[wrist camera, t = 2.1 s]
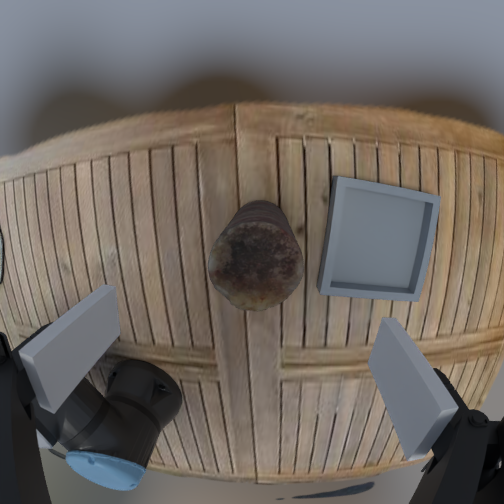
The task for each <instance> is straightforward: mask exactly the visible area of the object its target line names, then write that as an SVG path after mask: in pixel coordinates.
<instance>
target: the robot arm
mask: <svg viewBox="0 0 504 504" xmlns="http://www.w3.org/2000/svg"><path fill="white" fill-rule="evenodd" d="M120 334H121V332H120V324H119V315H118V306H117V295H116V287H115V286H110V285H104V284H103V285H102V286H100V287H99V288H98V289H96V290H95V291H94V292H92V293H91V294H90V295H88V296H87V297H86V298H84V299H83V300H82V301H80V302H79V303H78V304H76V305H75V306H74V307H72V308H71V309H70V310H69V311H67V312H66V313H65V314H63V315H62V316H61V317H60V318H58V319H57V320H56V321H55V322H52V323H49V324H47V325H44V326H42V327H41V328H40V329H38V330H37V331H36V332H35V333H33V334H32V335H31V336H30V338H27V339H26V340H25V341H23V342H22V343H21V344H20V345H19V346H17V347H16V348H15V349H14V350H13V351H11V348H10V345H9V342H8V339H7V336H6V335H5V334H4V333H2V332H0V504H52V503H51V500H50V496H49V493H48V488H47V485H46V480H45V476H44V472H43V467H42V462H41V457H40V451H39V448H50V449H51V448H52V447H53V446H54V445H55V444H56V442H57V441H58V442H59V443H60V444H61V445H63V446H64V447H65V448H66V449H67V450H68V452H67V453H66V461H67V463H68V464H69V465H70V467H71V468H72V469H73V470H75V471H76V472H77V473H78V474H80V475H82V476H83V477H85V478H86V479H88V480H90V481H92V482H94V483H97V484H99V485H102V486H105V487H107V488H111V489H115V490H131V489H134V488H135V487H137V486H138V484H139V483H140V481H141V479H142V477H143V475H144V474H145V472H146V467H147V465H148V462H149V460H150V457H151V454H152V452H153V449H154V447H155V444H156V442H157V439H158V436H159V434H160V432H161V430H162V429H163V428H164V427H165V426H166V425H167V424H168V423H170V422H171V421H172V420H173V419H174V418H175V417H176V415H177V414H178V412H179V409H180V407H181V403H182V396H181V392H180V390H179V388H178V386H177V385H176V383H175V382H174V381H173V380H172V378H171V377H170V376H168V375H167V374H166V373H165V372H163V371H162V370H161V369H159V368H157V367H155V366H153V365H151V364H149V363H146V362H143V361H138V360H125V361H122V362H120V363H118V364H117V365H116V366H115V367H114V368H113V370H112V371H111V372H110V374H109V376H108V380H107V385H106V390H105V395H104V397H103V395H102V394H101V393H100V392H99V391H98V390H97V389H96V388H95V387H94V386H93V385H92V384H91V383H90V382H89V381H88V380H87V379H86V378H85V375H86V374H87V373H88V371H89V370H90V369H91V368H92V367H93V365H94V364H95V363H96V362H97V361H98V360H99V358H100V357H101V356H102V355H103V354H104V352H105V351H106V350H107V349H108V348H109V347H110V345H111V344H112V343H113V342H114V341H115V340H116V338H117V337H118V336H119V335H120ZM368 365H369V368H370V370H371V372H372V375H373V377H374V379H375V382H376V384H377V386H378V389H379V391H380V393H381V396H382V398H383V401H384V403H385V405H386V408H387V410H388V413H389V415H390V418H391V420H392V423H393V425H394V428H395V430H396V433H397V435H398V438H399V441H400V443H401V446H402V449H403V451H404V454H405V457H406V459H407V461H411V460H416V459H421V458H424V457H425V456H426V454H427V453H428V452H429V450H430V449H432V451H433V453H434V456H433V457H432V458H431V459H430V461H429V462H428V463H427V464H426V465H425V467H424V468H423V469H422V470H421V472H424V470H425V469H426V470H425V473H424V475H423V477H422V479H421V481H420V483H419V485H418V487H417V489H416V491H415V493H414V495H413V497H412V499H411V500H410V502H409V504H504V417H503V418H502V420H501V421H489V419H488V417H487V416H486V415H485V414H484V413H482V412H480V411H478V410H474V409H472V410H469V409H468V407H467V406H466V404H465V403H464V401H463V400H462V398H461V397H460V395H459V394H458V392H457V391H456V390H454V387H453V385H452V384H450V381H449V380H448V378H447V377H446V375H445V374H444V373H442V372H441V371H440V370H438V369H437V368H432V367H431V365H430V364H429V363H428V361H427V360H426V358H425V357H424V356H423V354H422V353H421V351H420V350H419V349H418V347H417V346H416V344H415V343H414V342H413V340H412V339H411V338H410V336H409V335H408V334H407V332H406V331H405V330H404V328H403V327H402V326H401V324H400V323H399V322H398V320H397V319H396V318H383V317H382V320H381V324H380V327H379V330H378V334H377V337H376V340H375V343H374V346H373V349H372V352H371V355H370V358H369V361H368ZM500 461H502V462H501V468H499V462H500Z"/></svg>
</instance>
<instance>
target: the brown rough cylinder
mask: <svg viewBox="0 0 504 504" xmlns="http://www.w3.org/2000/svg"><path fill="white" fill-rule="evenodd" d="M303 270H304V265H303V256H302V253H301V250H300V248H299V245H298V243H297V241H296V239H295V237H294V234H293V232H292V230H291V228H290V226H289V223H288V221H287V219H286V217H285V215H284V213H283V212H282V210H281V209H280V208H278V207H277V206H276V205H274V204H273V203H270V202H268V201H252V202H250V203H248V204H246V205H244V206H243V207H242V208H241V209H240V210H239V211H238V212H237V213H236V214H235V216H234V218H233V219H232V220H231V222H230V223H229V224H228V226H227V227H226V228H225V230H224V231H223V232H222V233H221V235H220V236H219V238H218V239H217V240H216V242H215V244H214V245H213V248H212V250H211V252H210V256H209V261H208V271H209V276H210V280H211V282H212V283H213V285H214V287H215V289H217V290H218V291H219V292H220V293H221V294H222V295H224V296H225V297H226V298H227V299H228V300H229V301H230V303H231V305H233V306H235V307H236V308H239V309H242V310H251V311H262V310H266V309H268V308H270V307H274V306H276V305H278V304H280V303H281V302H283V301H284V300H286V299H287V298H288V296H289V295H290V294H291V293H292V292H293V291H294V290H295V289H296V287H297V286H298V284H299V283H300V281H301V279H302V274H303Z"/></svg>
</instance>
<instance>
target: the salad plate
mask: <svg viewBox="0 0 504 504" xmlns="http://www.w3.org/2000/svg"><path fill="white" fill-rule="evenodd" d="M2 277H3V242H2V236H1V233H0V283H1V281H2Z"/></svg>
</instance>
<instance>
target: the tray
mask: <svg viewBox="0 0 504 504" xmlns="http://www.w3.org/2000/svg"><path fill="white" fill-rule="evenodd" d="M440 199H441V197H440V196H436V195H432V194H428V193H423V192H419V191H415V190H410V189H405V188H401V187H396V186H391V185H386V184H380V183H375V182H370V181H364V180H358V179H353V178H347V177H340V176H333V180H332V188H331V196H330V204H329V212H328V219H327V226H326V233H325V240H324V246H323V253H322V259H321V265H320V271H319V277H318V282H317V288H318V291H319V293H320V295H332V296H343V297H356V298H369V299H383V300H398V301H414V302H418V301H419V298H420V294H421V291H422V287H423V283H424V280H425V276H426V272H427V268H428V263H429V259H430V255H431V250H432V245H433V241H434V235H435V230H436V225H437V219H438V213H439V206H440Z"/></svg>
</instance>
